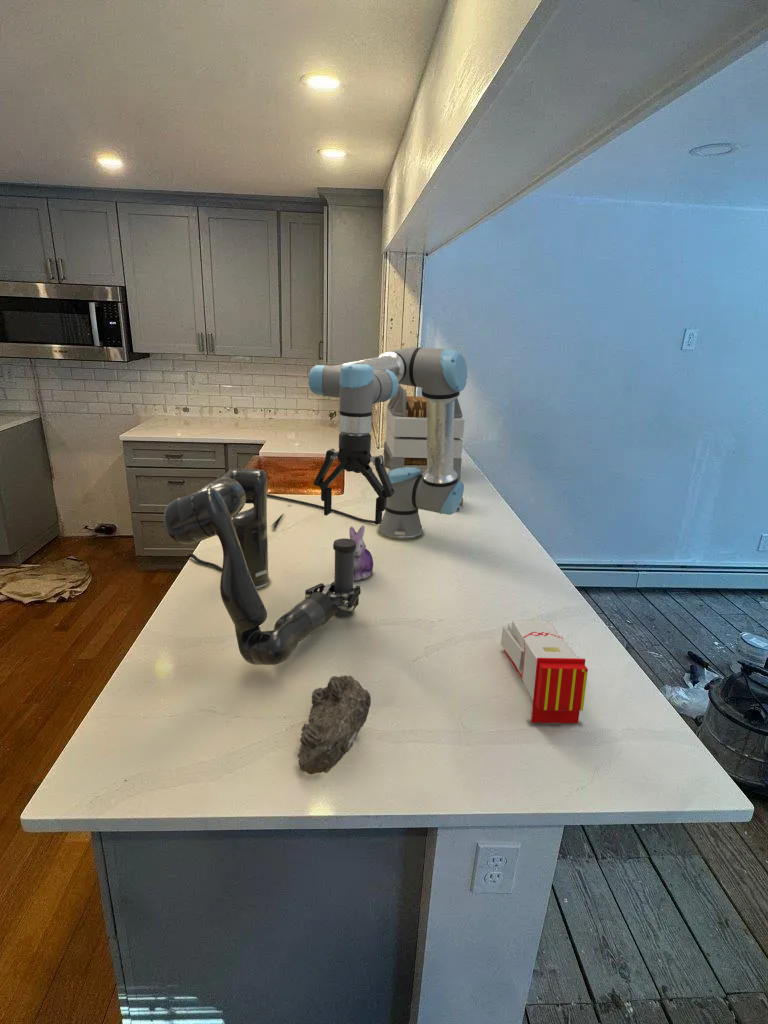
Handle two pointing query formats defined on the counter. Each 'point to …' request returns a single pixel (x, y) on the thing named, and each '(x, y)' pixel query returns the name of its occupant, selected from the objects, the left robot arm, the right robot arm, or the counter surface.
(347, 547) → the lid
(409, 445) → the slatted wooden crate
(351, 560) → the dark grey cylinder
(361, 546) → the figurine
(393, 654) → the counter surface
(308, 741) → the fossil
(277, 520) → the dark tapered rod
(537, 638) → the toy
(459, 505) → the figurine character
